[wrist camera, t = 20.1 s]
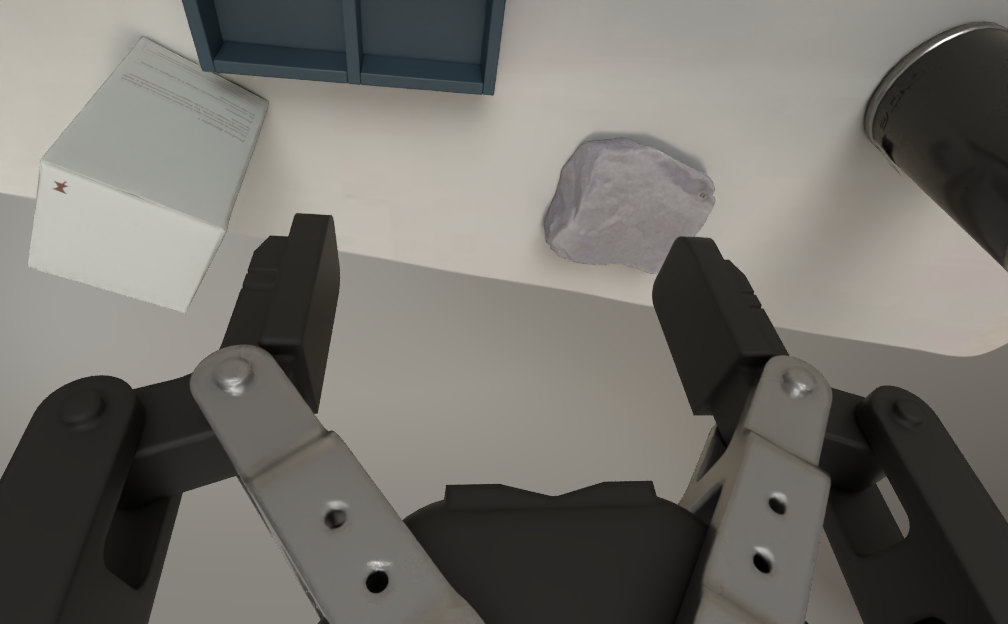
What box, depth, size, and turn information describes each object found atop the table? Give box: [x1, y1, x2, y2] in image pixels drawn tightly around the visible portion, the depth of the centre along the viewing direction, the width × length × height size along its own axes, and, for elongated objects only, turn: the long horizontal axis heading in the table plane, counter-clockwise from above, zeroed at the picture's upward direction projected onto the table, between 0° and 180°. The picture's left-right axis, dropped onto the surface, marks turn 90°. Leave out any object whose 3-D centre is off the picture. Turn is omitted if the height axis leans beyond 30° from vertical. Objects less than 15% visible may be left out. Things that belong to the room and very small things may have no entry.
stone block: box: [544, 138, 715, 274], centre depth 41 cm, size 12×5×10 cm
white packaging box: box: [28, 37, 268, 313], centre depth 30 cm, size 7×7×13 cm
